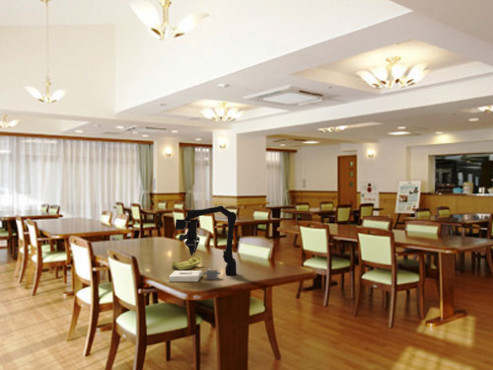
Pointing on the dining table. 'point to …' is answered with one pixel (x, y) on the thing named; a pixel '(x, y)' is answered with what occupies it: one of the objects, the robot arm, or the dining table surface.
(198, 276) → the white square base plate
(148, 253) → the dining table surface
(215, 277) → the servo
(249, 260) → the dining table surface
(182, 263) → the plastic component
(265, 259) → the dining table surface
